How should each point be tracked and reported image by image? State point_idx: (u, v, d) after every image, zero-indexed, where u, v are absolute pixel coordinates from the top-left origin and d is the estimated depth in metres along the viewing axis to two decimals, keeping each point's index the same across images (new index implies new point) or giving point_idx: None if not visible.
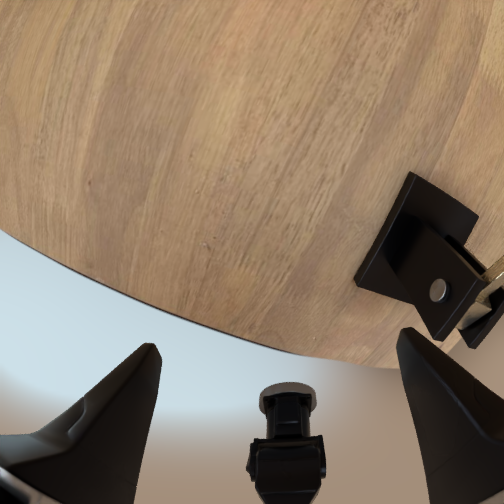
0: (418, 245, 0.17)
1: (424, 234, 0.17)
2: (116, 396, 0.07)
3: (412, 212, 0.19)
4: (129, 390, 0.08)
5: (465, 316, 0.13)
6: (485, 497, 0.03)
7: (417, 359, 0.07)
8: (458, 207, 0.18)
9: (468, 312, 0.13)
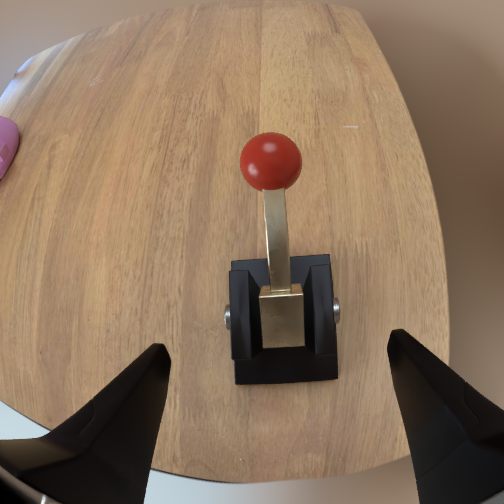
0: None
1: None
2: (127, 398, 0.07)
3: None
4: (139, 391, 0.07)
5: (275, 322, 0.14)
6: (473, 503, 0.03)
7: (407, 361, 0.07)
8: (295, 261, 0.23)
9: (270, 315, 0.14)
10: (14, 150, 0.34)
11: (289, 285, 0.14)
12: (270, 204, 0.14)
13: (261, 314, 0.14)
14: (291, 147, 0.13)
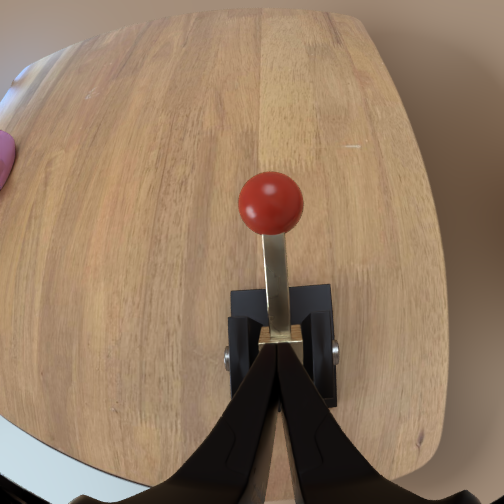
0: None
1: None
2: (267, 407, 0.06)
3: None
4: (272, 398, 0.07)
5: None
6: None
7: (278, 377, 0.08)
8: (295, 291, 0.22)
9: None
10: (10, 164, 0.34)
11: (289, 330, 0.14)
12: (270, 250, 0.14)
13: None
14: (292, 190, 0.13)
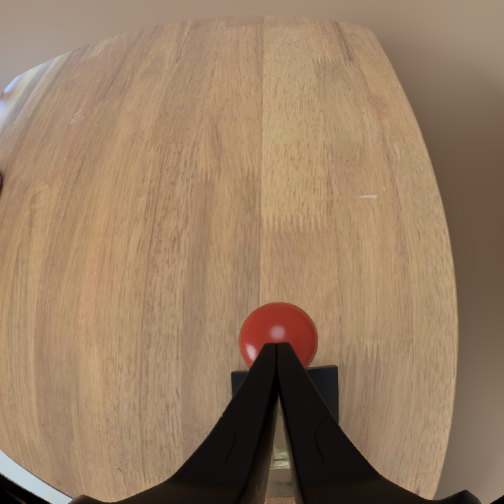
0: None
1: None
2: (267, 407, 0.06)
3: None
4: (272, 398, 0.07)
5: (277, 484, 0.11)
6: None
7: (278, 377, 0.08)
8: None
9: (272, 480, 0.11)
10: None
11: None
12: None
13: None
14: (306, 339, 0.10)
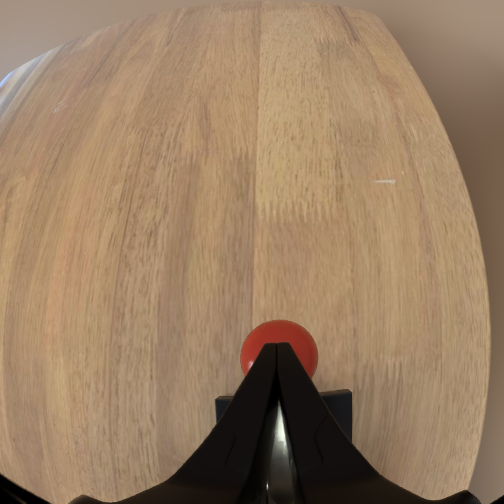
0: None
1: None
2: (267, 407, 0.06)
3: None
4: (272, 398, 0.07)
5: None
6: None
7: (278, 377, 0.08)
8: None
9: None
10: None
11: (293, 503, 0.07)
12: None
13: None
14: (305, 338, 0.10)
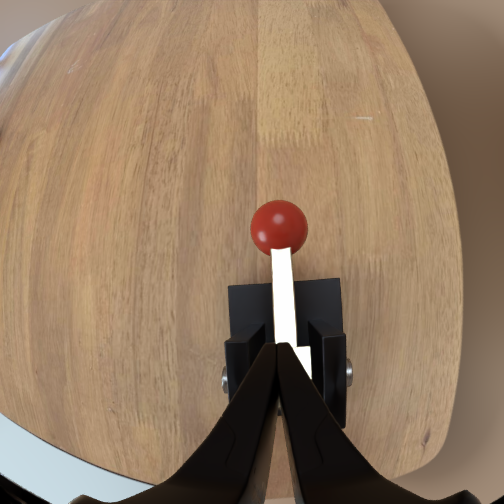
0: None
1: None
2: (267, 407, 0.06)
3: (245, 322, 0.20)
4: (272, 398, 0.07)
5: None
6: None
7: (278, 377, 0.08)
8: (300, 286, 0.20)
9: None
10: None
11: (295, 341, 0.13)
12: (277, 262, 0.15)
13: None
14: (297, 209, 0.15)
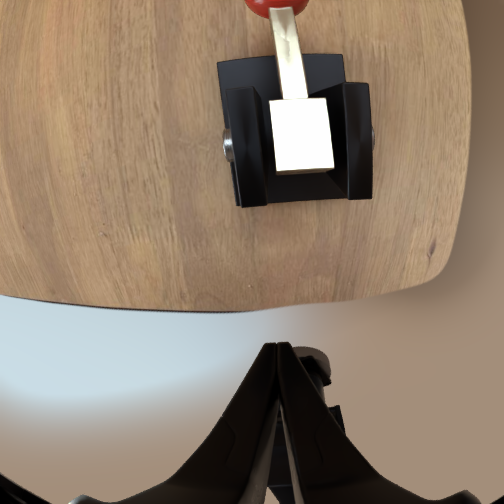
0: None
1: None
2: (267, 407, 0.06)
3: None
4: (272, 398, 0.07)
5: (291, 133, 0.10)
6: None
7: (278, 377, 0.08)
8: None
9: (284, 123, 0.10)
10: None
11: (306, 95, 0.10)
12: (278, 18, 0.09)
13: (273, 122, 0.10)
14: None
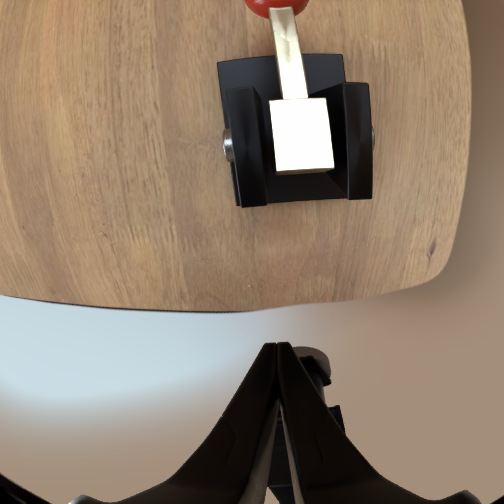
0: None
1: None
2: (267, 407, 0.06)
3: None
4: (272, 398, 0.07)
5: (291, 133, 0.10)
6: None
7: (278, 377, 0.08)
8: None
9: (284, 123, 0.10)
10: None
11: (306, 95, 0.10)
12: (278, 18, 0.09)
13: (273, 122, 0.10)
14: None
